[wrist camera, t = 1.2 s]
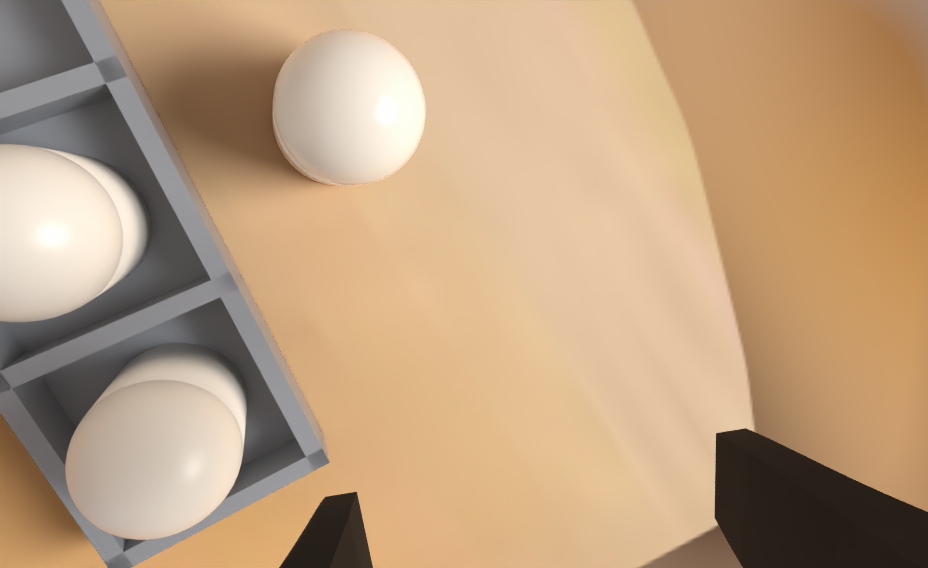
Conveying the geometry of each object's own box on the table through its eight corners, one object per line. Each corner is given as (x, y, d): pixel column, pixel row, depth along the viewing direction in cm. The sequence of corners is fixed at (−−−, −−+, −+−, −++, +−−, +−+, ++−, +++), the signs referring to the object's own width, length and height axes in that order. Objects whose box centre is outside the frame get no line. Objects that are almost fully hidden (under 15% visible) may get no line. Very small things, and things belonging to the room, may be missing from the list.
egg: (305, 204, 21) (319, 211, 15) (249, 84, 20) (241, 42, 14) (414, 159, 22) (466, 149, 16) (367, 42, 21) (405, -14, 15)
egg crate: (131, 532, 21) (71, 685, 14) (-286, -92, 15) (-696, -298, 9) (323, 433, 22) (345, 531, 16) (14, -163, 17) (-143, -378, 10)
